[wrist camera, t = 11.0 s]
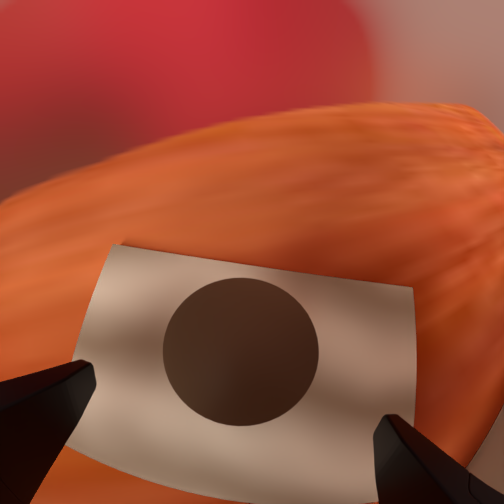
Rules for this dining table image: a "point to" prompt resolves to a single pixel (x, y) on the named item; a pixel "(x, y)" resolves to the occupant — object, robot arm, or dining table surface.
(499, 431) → the grey rectangular tray
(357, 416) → the lid
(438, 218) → the dining table surface
